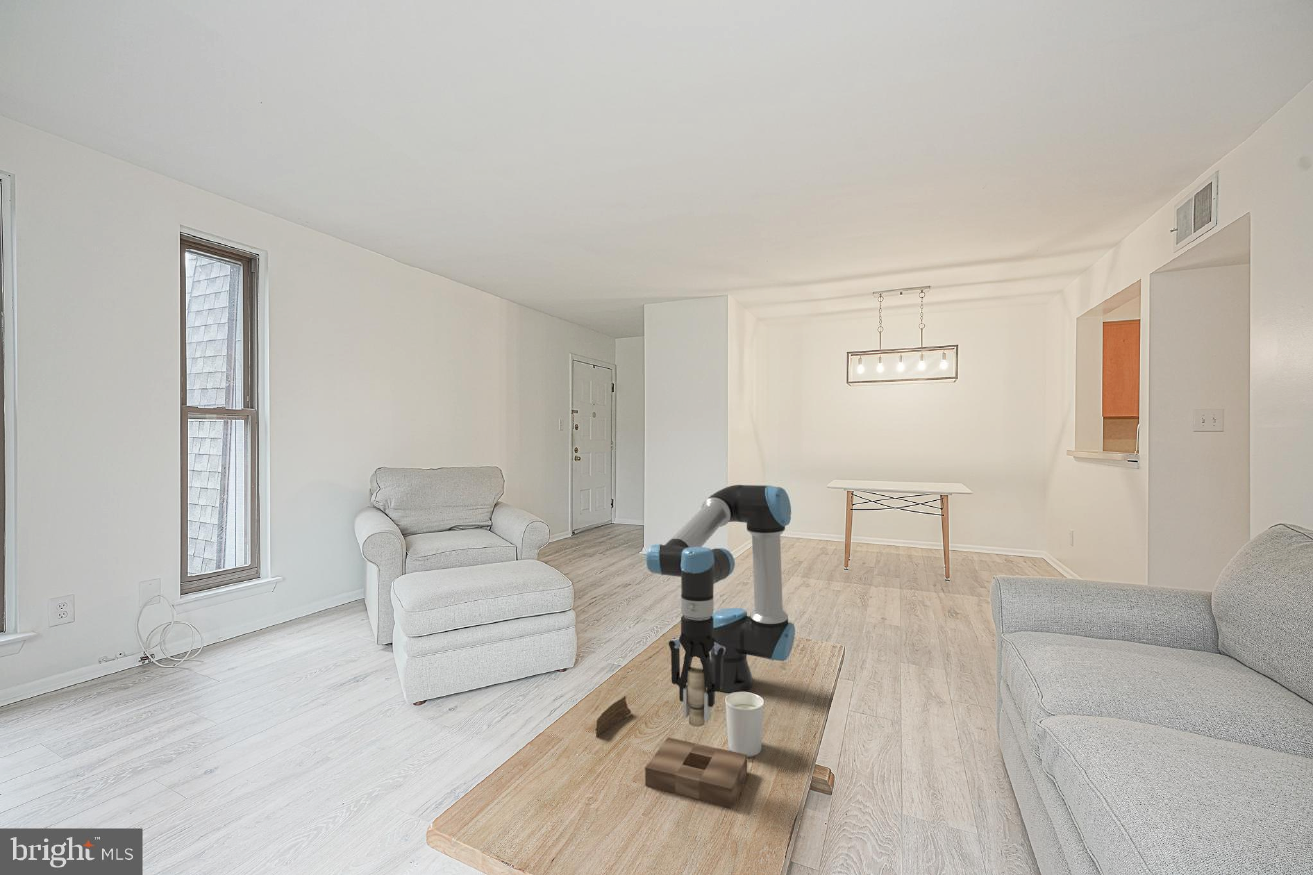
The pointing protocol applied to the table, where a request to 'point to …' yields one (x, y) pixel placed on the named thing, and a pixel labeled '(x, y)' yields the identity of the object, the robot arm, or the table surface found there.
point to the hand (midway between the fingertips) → (696, 717)
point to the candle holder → (744, 722)
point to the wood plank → (612, 715)
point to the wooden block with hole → (697, 771)
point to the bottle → (696, 695)
